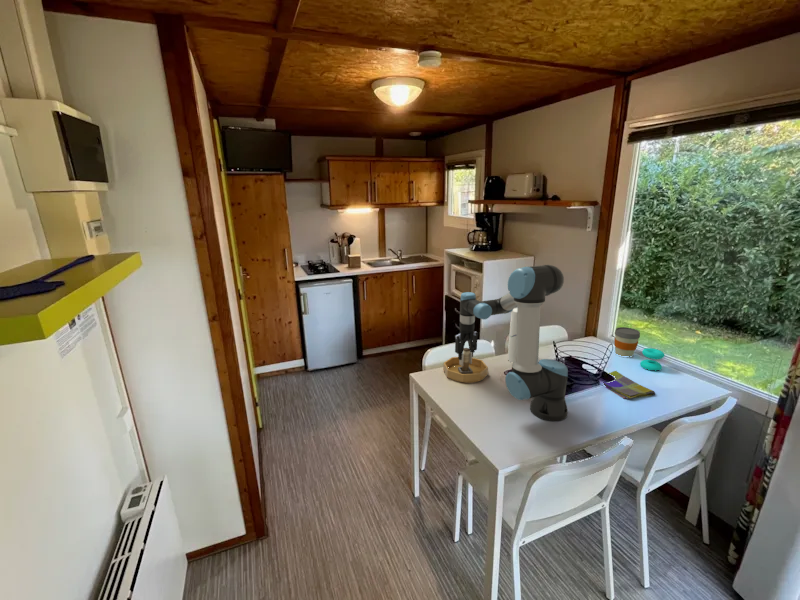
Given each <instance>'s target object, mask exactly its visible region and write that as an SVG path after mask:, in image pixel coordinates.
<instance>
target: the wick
mask: <svg viewBox="0 0 800 600" xmlns="http://www.w3.org/2000/svg"><path fill="white" fill-rule="evenodd" d="M462 354H464V361H463V366H462V372H464V371H468V370H469V356H470V349H469V347H464V349H463V353H462Z"/></svg>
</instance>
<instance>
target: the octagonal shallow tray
mask: <svg viewBox="0 0 800 600" xmlns="http://www.w3.org/2000/svg"><path fill="white" fill-rule="evenodd" d="M442 365H443V366H442V367H443V371H444V374H445V376H446V377H447V378H449V380H451V381H455V382H459V383H462V384H463V383H465V384H469V383H470V384H471V383H478V382H480V381H483V380H484V379H485V378H486V377H487V376H488V374H489V366H487V364H486V363H485V362H484V361H483V360H482V359H479V358H475V357H472V364H470V363H469V370H468V371H464V372H462V366H461V365H460V364H459V359H458V356H455V357H454V356H452V357H450V358H449V359H447V360H446V361H444V362H443V364H442ZM454 366H455V367H454ZM448 367H449V368H448Z"/></svg>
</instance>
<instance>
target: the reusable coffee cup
mask: <svg viewBox="0 0 800 600" xmlns="http://www.w3.org/2000/svg"><path fill="white" fill-rule="evenodd" d="M614 336H615V337H614V342H613V343H614V349H615V350H614V353H616V354H618V355H621V356H632V355H633V356H634V354H635V351H636V350H637V347H638V345H639V339H640V336H641V332H640V331H639V330H638V329H635V328H632V327H625V326H623V327H621V326H620V327H616V328H615V332H614ZM616 354H615V355H616Z"/></svg>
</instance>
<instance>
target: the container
mask: <svg viewBox="0 0 800 600" xmlns="http://www.w3.org/2000/svg"><path fill="white" fill-rule="evenodd" d="M517 310H518V307H516V308H514V309H513V311H512V312H510V322H509V324H510V325H509V336H508V337H509V338H508V349H507V350H508V352H507V361H508V360H509V361H510V362H509V361H508V362H509V363H511V362H513V363H514V362H515V361H516V343H517ZM513 363H512V364H513Z"/></svg>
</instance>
